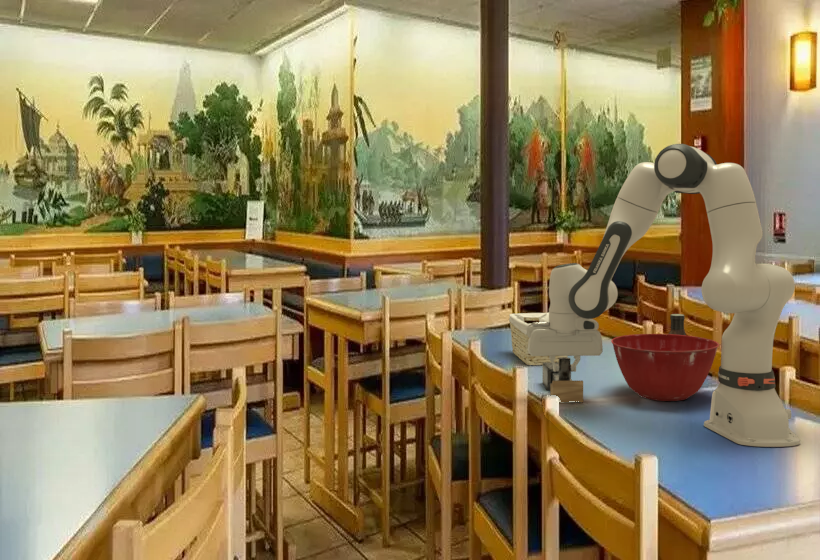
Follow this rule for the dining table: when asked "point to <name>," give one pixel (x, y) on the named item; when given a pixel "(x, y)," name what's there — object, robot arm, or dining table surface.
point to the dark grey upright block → (562, 370)
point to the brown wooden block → (567, 390)
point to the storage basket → (526, 337)
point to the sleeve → (548, 373)
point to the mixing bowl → (664, 364)
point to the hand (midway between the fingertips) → (564, 371)
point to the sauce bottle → (677, 324)
